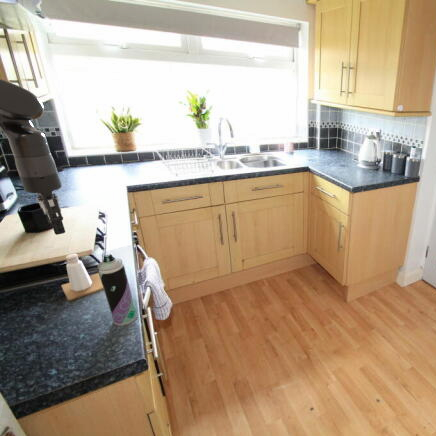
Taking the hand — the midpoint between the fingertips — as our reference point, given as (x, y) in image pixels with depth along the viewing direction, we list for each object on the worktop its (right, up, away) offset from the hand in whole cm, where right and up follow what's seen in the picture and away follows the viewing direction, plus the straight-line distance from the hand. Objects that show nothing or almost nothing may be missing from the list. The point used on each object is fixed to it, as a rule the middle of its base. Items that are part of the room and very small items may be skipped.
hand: (57, 228), depth 89 cm
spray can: (+20, -25, -2) cm, 32 cm away
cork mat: (-1, -19, +10) cm, 21 cm away
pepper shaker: (-1, -18, +10) cm, 21 cm away
